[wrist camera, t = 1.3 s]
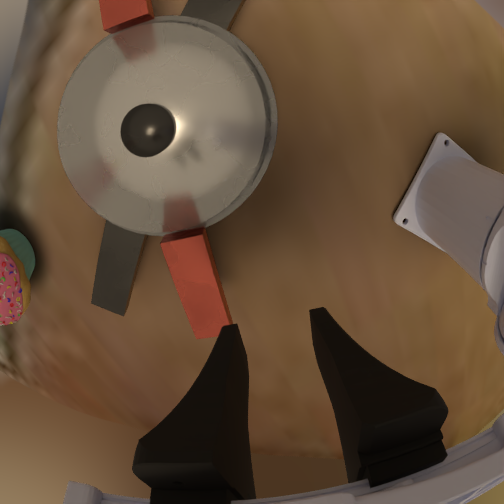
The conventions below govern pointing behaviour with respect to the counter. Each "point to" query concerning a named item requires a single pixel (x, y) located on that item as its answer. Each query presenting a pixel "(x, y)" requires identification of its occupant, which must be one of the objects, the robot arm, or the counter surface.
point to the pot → (132, 241)
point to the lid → (164, 141)
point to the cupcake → (14, 275)
